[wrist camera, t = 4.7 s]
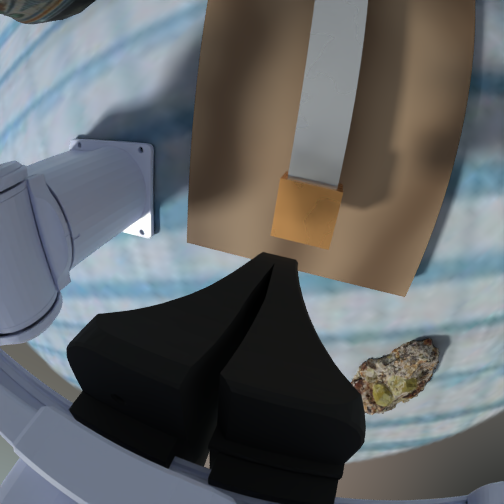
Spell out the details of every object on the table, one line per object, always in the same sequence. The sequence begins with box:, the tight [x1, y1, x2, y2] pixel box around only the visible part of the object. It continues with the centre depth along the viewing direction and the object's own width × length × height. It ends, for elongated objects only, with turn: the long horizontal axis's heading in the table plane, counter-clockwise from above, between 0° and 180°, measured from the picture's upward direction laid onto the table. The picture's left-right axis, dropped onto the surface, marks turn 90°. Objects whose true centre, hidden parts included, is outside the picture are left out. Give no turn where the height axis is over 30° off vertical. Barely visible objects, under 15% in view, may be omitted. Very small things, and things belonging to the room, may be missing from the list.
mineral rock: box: [351, 338, 439, 415], centre depth 24 cm, size 11×4×8 cm
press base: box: [187, 0, 475, 297], centre depth 13 cm, size 16×23×7 cm
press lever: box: [270, 0, 368, 250], centre depth 12 cm, size 3×17×2 cm, turn 173°
